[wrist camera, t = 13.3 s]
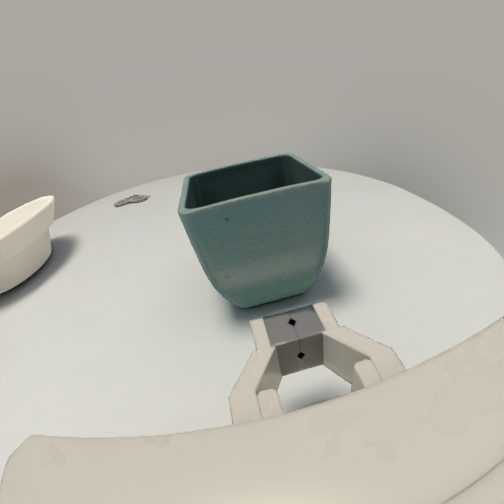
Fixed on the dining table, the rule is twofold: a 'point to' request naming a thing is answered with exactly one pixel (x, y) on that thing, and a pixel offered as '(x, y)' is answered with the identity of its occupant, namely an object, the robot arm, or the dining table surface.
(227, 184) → the flower pot
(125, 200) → the charm
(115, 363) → the dining table surface
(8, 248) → the bowl
